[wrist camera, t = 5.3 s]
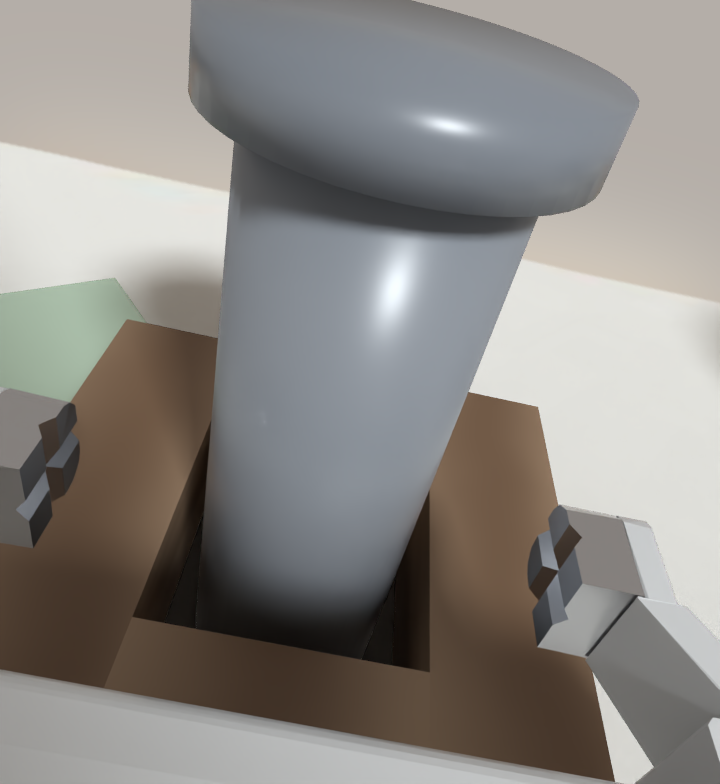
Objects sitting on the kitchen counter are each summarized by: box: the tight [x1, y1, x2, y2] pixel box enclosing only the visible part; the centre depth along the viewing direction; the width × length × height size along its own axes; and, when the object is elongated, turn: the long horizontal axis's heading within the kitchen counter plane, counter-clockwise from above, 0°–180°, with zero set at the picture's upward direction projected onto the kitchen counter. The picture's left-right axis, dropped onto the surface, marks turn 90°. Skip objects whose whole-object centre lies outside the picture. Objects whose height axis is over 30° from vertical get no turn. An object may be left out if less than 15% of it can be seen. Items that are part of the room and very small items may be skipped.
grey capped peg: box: [188, 0, 639, 660], centre depth 14 cm, size 6×6×15 cm
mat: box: [0, 278, 146, 402], centre depth 25 cm, size 9×9×1 cm
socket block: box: [0, 319, 615, 782], centre depth 18 cm, size 14×14×4 cm
